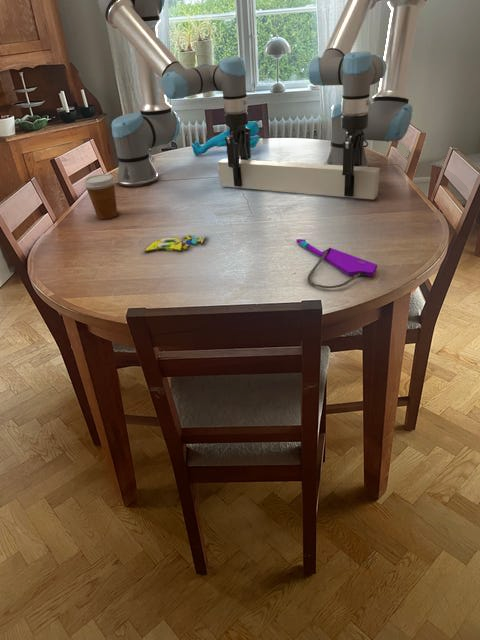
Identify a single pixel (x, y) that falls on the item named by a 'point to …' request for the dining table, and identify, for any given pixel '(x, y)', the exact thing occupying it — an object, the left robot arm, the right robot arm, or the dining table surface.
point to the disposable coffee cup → (102, 195)
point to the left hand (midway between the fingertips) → (241, 183)
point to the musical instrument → (340, 263)
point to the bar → (300, 178)
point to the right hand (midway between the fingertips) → (351, 193)
